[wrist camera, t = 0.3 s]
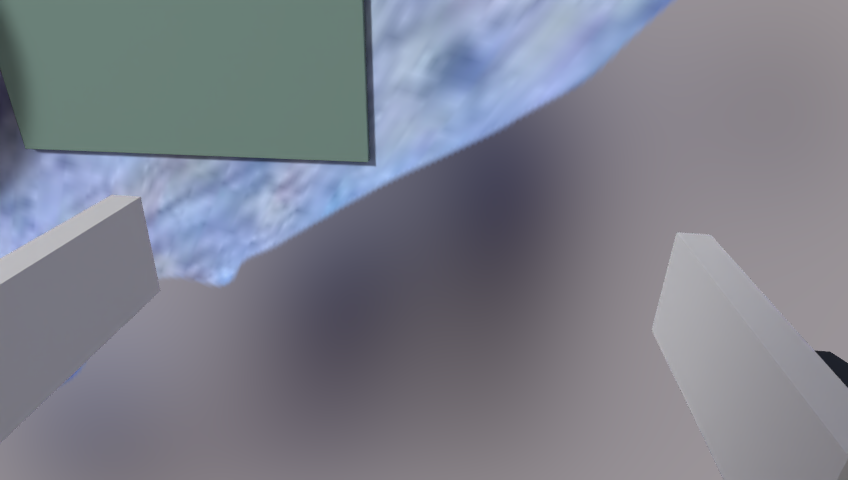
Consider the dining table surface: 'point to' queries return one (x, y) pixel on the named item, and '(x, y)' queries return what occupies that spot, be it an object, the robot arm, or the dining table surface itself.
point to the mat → (189, 76)
